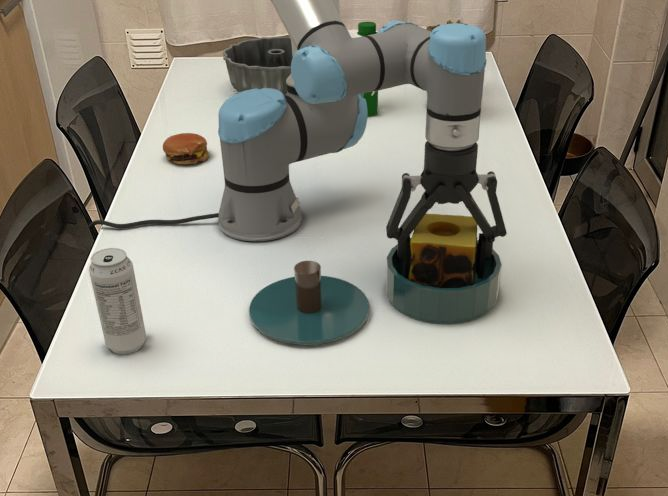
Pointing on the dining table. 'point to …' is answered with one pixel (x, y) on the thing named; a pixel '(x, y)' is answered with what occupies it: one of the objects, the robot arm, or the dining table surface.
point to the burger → (186, 148)
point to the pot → (442, 294)
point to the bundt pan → (259, 63)
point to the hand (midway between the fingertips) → (442, 274)
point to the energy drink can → (117, 300)
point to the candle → (444, 251)
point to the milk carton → (372, 97)
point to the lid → (309, 307)
